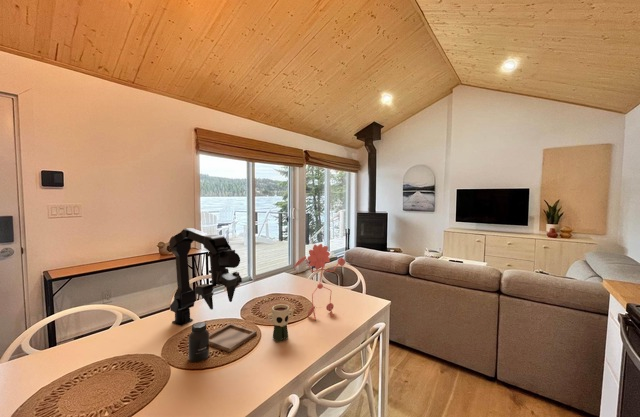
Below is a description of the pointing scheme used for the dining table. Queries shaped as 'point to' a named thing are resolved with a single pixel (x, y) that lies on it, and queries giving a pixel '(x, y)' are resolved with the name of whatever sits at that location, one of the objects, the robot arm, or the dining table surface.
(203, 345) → the supplement bottle
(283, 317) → the character mug
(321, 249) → the figurine
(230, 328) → the tray
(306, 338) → the dining table surface
